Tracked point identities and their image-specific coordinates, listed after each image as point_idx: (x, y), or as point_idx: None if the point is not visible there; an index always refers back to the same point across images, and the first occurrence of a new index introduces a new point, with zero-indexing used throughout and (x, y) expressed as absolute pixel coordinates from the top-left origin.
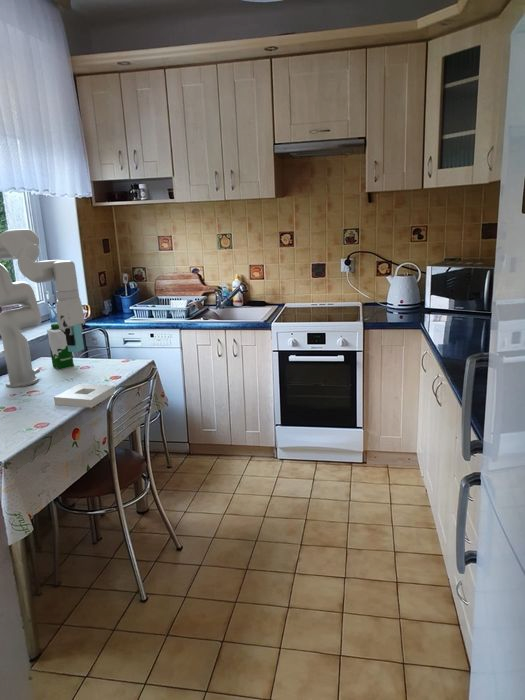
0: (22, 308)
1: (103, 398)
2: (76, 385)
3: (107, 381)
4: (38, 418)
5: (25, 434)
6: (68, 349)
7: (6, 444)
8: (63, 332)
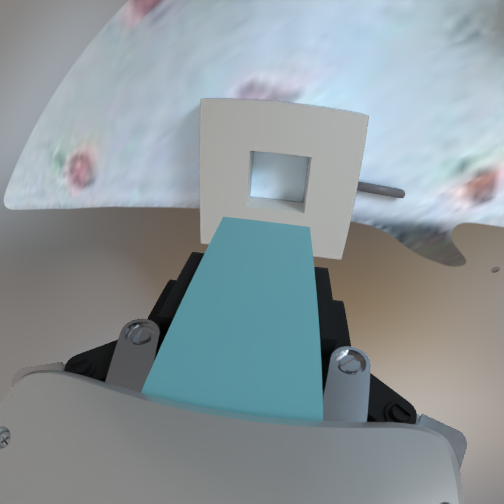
0: None
1: None
2: (344, 112)
3: (453, 172)
4: (106, 129)
5: (44, 171)
6: (218, 227)
7: (15, 170)
8: (88, 352)
